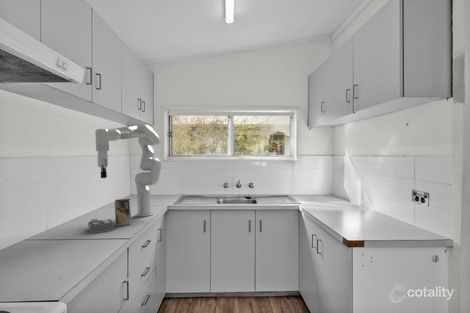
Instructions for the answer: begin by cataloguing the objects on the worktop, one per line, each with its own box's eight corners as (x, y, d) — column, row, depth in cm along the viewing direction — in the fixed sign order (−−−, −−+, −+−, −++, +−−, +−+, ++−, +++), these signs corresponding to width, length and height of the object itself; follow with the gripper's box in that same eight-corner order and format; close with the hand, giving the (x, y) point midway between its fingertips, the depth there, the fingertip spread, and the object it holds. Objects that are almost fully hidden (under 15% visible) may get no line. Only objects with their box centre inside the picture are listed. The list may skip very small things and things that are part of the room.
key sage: (103, 227, 190) (103, 221, 190) (109, 226, 192) (109, 220, 192) (104, 228, 187) (104, 222, 187) (110, 227, 189) (110, 221, 189)
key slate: (91, 224, 192) (90, 219, 192) (97, 223, 194) (97, 218, 194) (91, 225, 189) (91, 220, 189) (98, 225, 191) (98, 219, 191)
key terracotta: (92, 228, 187) (92, 222, 187) (98, 227, 189) (98, 222, 189) (93, 229, 184) (92, 224, 184) (99, 229, 186) (99, 223, 185)
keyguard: (88, 229, 193) (87, 221, 192) (110, 225, 199) (110, 218, 199) (90, 233, 181) (90, 225, 181) (114, 230, 188) (113, 222, 188)
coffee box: (131, 222, 207) (130, 198, 207) (130, 224, 201) (129, 200, 200) (117, 223, 205) (116, 199, 205) (115, 226, 199) (114, 200, 199)
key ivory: (101, 225, 195) (101, 219, 195) (108, 224, 197) (107, 218, 197) (102, 226, 192) (102, 220, 192) (109, 225, 194) (108, 219, 194)
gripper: (94, 149, 200) (95, 177, 200) (97, 148, 187) (99, 179, 187) (107, 148, 204) (108, 176, 204) (111, 148, 191) (112, 178, 191)
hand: (103, 177), depth 196 cm, fingers closed
